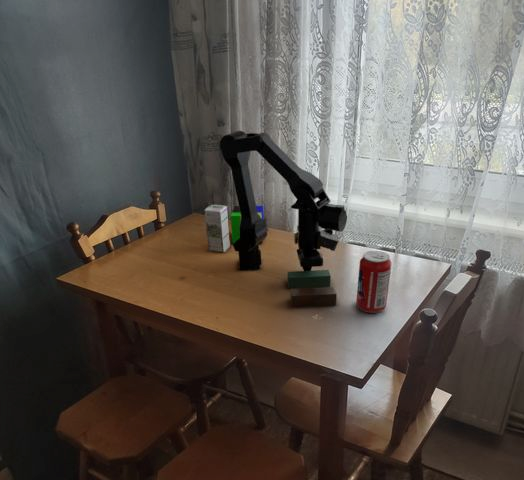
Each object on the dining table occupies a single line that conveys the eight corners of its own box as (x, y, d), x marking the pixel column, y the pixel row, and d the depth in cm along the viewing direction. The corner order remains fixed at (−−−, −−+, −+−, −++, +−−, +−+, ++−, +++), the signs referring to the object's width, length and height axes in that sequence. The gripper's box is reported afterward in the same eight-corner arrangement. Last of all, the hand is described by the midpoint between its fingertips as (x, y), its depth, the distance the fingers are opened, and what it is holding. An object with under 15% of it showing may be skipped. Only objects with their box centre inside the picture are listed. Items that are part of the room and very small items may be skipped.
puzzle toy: (264, 233, 177) (263, 206, 171) (261, 244, 168) (260, 216, 163) (236, 232, 178) (234, 205, 172) (232, 244, 169) (230, 216, 164)
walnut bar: (291, 307, 132) (291, 296, 130) (290, 300, 136) (290, 288, 134) (335, 305, 132) (336, 293, 131) (333, 298, 136) (334, 286, 134)
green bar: (288, 288, 141) (288, 277, 139) (287, 282, 144) (287, 271, 142) (330, 286, 141) (330, 275, 139) (327, 280, 145) (328, 269, 143)
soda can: (379, 318, 126) (385, 265, 118) (351, 310, 130) (355, 258, 122) (390, 304, 132) (396, 253, 124) (362, 297, 135) (367, 247, 127)
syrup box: (230, 246, 168) (227, 204, 160) (223, 253, 163) (220, 211, 155) (215, 244, 169) (211, 203, 161) (208, 251, 165) (203, 209, 157)
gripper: (343, 236, 129) (340, 289, 137) (331, 211, 144) (329, 260, 153) (301, 238, 128) (300, 291, 137) (294, 213, 144) (293, 262, 153)
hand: (307, 275), depth 145 cm, fingers closed
